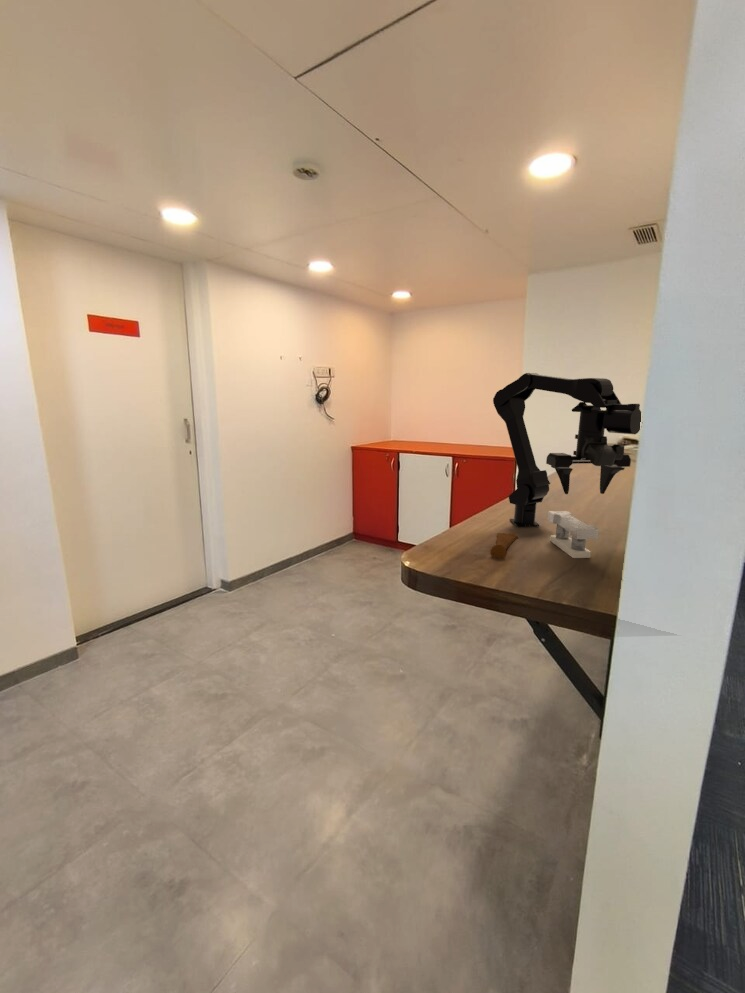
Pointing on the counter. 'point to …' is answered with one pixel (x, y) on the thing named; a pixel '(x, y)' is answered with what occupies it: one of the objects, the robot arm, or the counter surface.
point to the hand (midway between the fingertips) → (584, 493)
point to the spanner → (573, 525)
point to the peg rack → (570, 544)
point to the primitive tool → (502, 544)
